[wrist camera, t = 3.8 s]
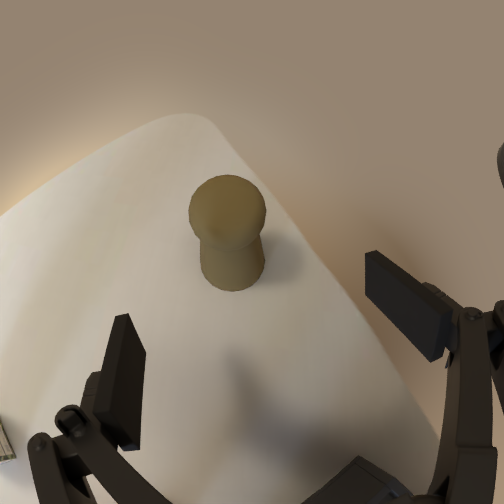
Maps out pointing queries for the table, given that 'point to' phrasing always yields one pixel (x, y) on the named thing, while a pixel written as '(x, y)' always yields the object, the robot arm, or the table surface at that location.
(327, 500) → the dark gray square tray
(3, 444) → the syrup box
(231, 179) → the cork
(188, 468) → the table surface
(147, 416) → the table surface
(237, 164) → the table surface
